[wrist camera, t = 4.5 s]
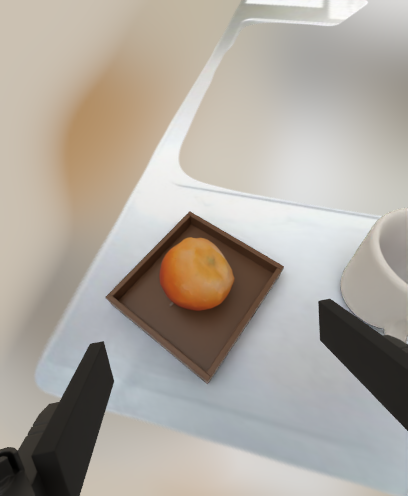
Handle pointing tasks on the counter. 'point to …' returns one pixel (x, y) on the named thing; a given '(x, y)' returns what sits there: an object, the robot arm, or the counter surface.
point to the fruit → (196, 275)
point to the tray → (190, 321)
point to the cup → (381, 276)
